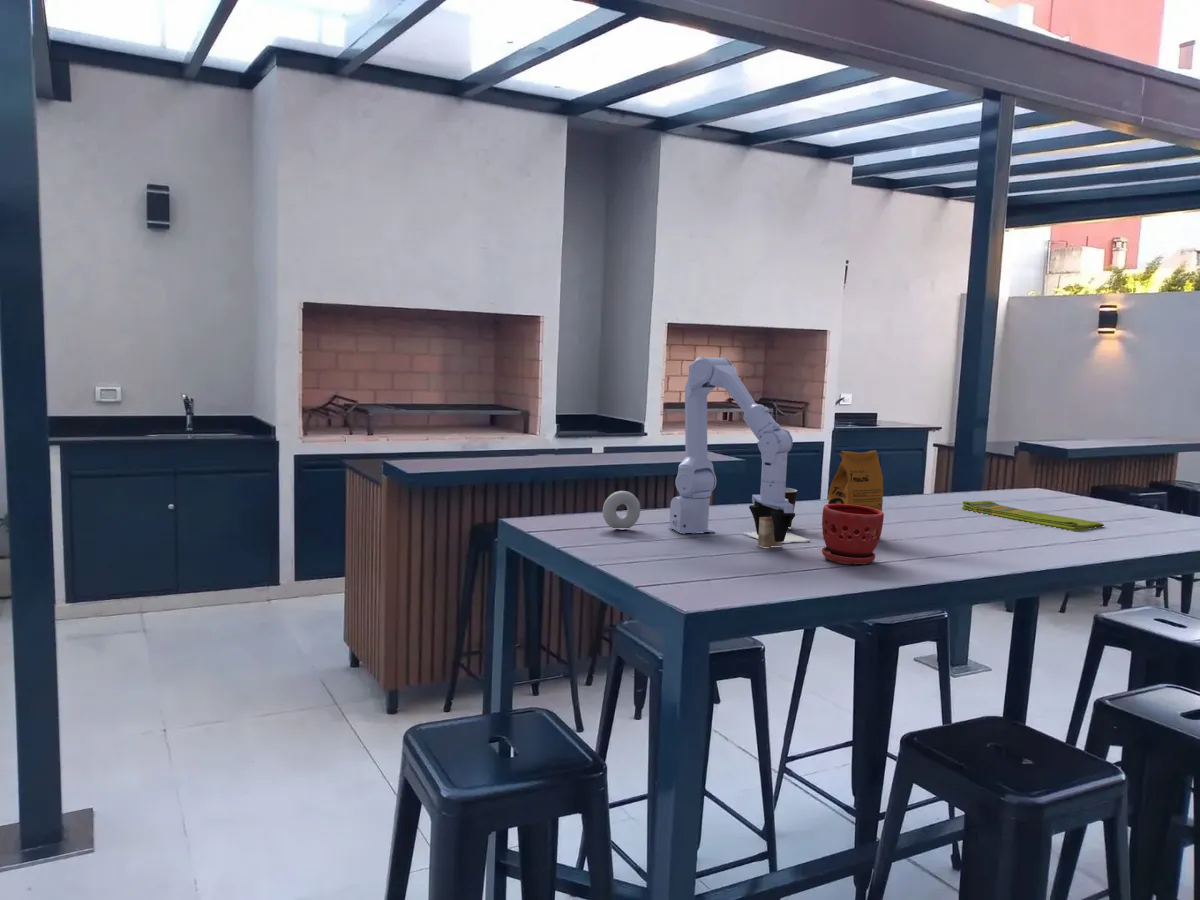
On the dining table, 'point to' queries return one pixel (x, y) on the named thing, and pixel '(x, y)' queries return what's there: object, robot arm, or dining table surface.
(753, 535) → the mat
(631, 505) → the donut
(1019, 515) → the dish towel
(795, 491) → the coffee mug
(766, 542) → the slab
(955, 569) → the dining table surface
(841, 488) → the coffee package
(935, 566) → the dining table surface
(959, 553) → the dining table surface
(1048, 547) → the dining table surface
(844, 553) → the plant pot
